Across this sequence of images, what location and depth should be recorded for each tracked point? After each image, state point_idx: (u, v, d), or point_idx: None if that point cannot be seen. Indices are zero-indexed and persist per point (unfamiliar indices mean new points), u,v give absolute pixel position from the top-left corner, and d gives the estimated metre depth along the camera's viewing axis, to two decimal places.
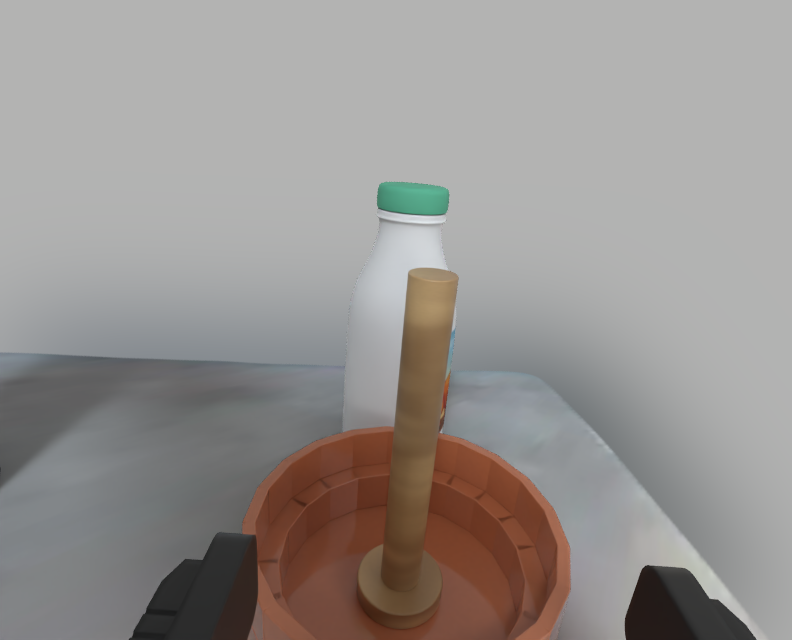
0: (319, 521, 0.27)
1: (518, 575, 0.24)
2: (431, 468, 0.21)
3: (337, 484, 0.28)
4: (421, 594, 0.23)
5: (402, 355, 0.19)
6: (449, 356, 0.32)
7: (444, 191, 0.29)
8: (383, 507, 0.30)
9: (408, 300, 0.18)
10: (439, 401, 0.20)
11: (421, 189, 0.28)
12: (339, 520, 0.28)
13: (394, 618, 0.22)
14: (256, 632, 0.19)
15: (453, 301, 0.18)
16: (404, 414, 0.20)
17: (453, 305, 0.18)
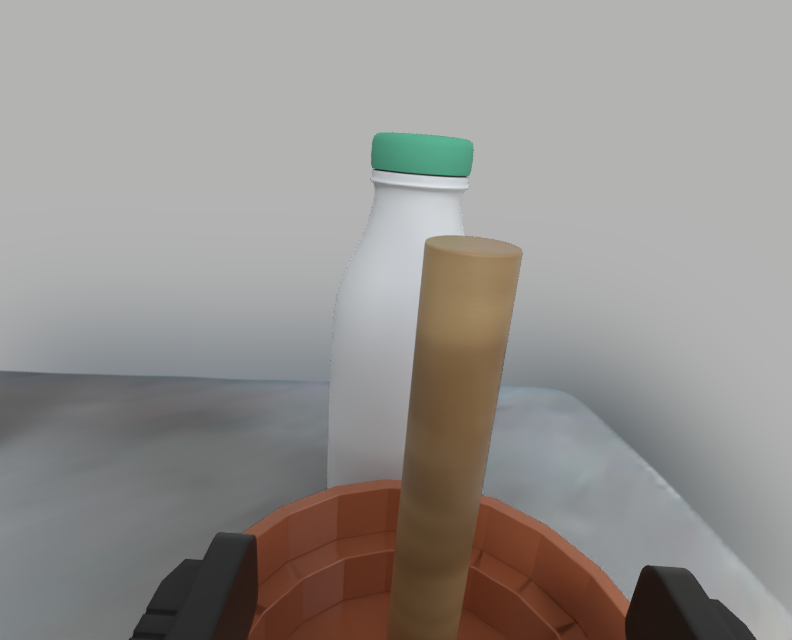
0: (286, 627, 0.19)
1: None
2: (463, 588, 0.12)
3: (312, 571, 0.19)
4: None
5: (413, 398, 0.10)
6: None
7: (467, 142, 0.20)
8: (381, 595, 0.21)
9: (425, 295, 0.10)
10: (480, 479, 0.11)
11: (435, 137, 0.19)
12: (317, 620, 0.20)
13: None
14: None
15: (513, 297, 0.09)
16: (416, 504, 0.11)
17: (512, 305, 0.10)
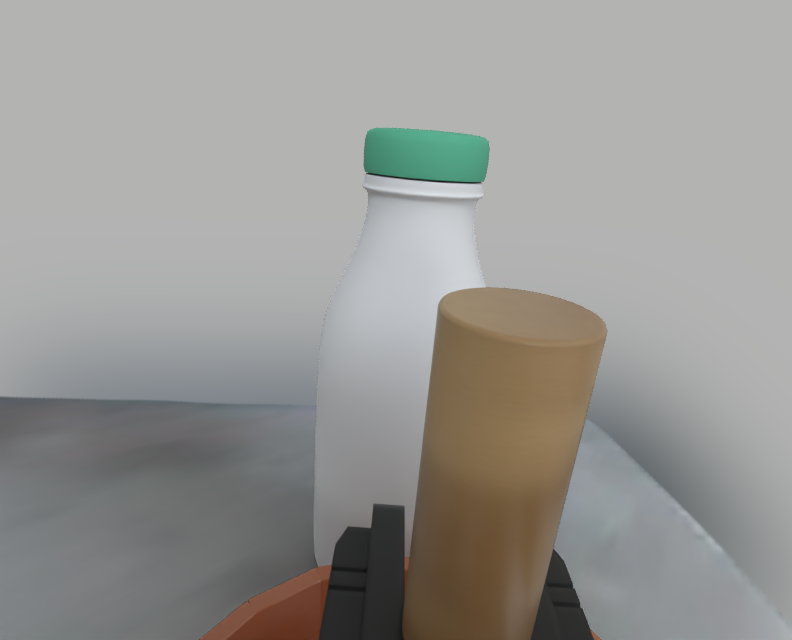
0: None
1: None
2: None
3: None
4: None
5: (418, 547, 0.07)
6: None
7: (483, 140, 0.16)
8: None
9: (439, 398, 0.06)
10: None
11: (443, 133, 0.15)
12: None
13: None
14: None
15: (589, 402, 0.06)
16: None
17: (586, 413, 0.06)
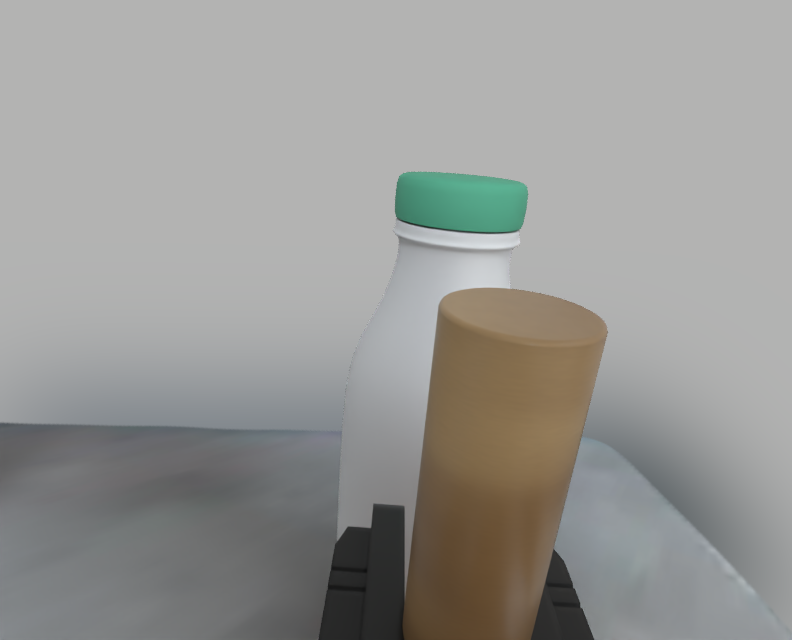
0: None
1: None
2: None
3: None
4: None
5: (418, 547, 0.07)
6: None
7: (523, 187, 0.15)
8: None
9: (440, 398, 0.06)
10: None
11: (483, 183, 0.14)
12: None
13: None
14: None
15: (589, 402, 0.06)
16: None
17: None
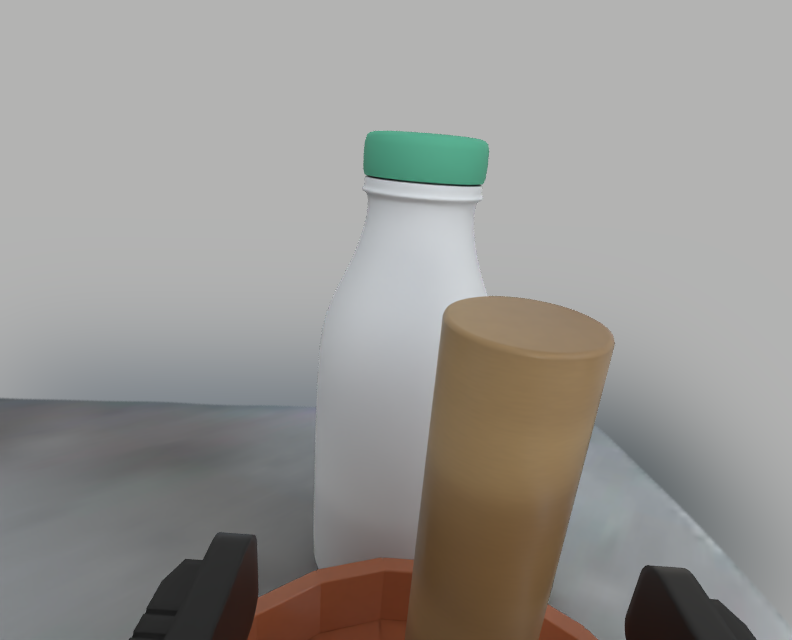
0: None
1: None
2: None
3: None
4: None
5: (422, 559, 0.06)
6: None
7: (482, 143, 0.16)
8: None
9: (445, 409, 0.06)
10: None
11: (442, 136, 0.15)
12: None
13: None
14: None
15: None
16: None
17: (593, 425, 0.06)
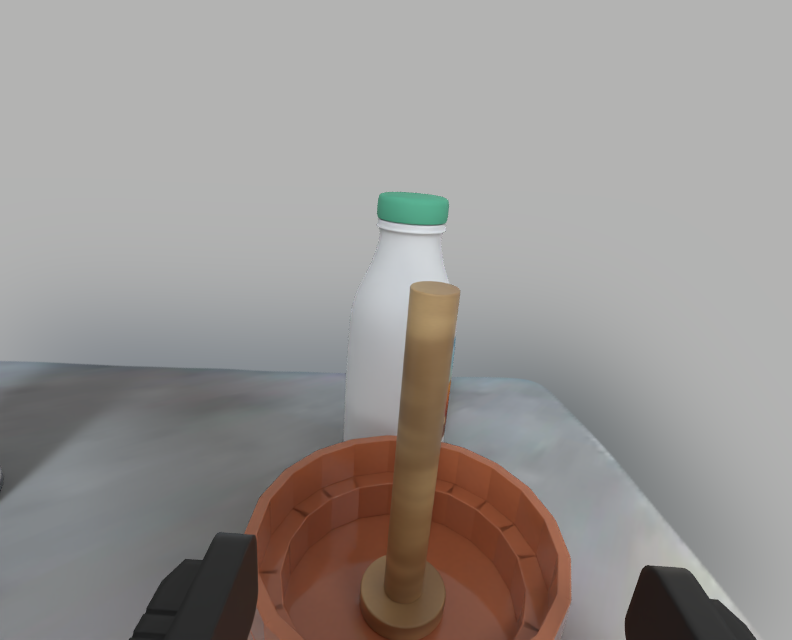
0: (320, 531, 0.28)
1: (520, 585, 0.24)
2: (434, 480, 0.21)
3: (338, 494, 0.28)
4: (424, 606, 0.23)
5: (404, 368, 0.19)
6: None
7: (444, 201, 0.29)
8: (384, 516, 0.30)
9: (410, 314, 0.18)
10: (441, 414, 0.20)
11: (421, 199, 0.28)
12: (341, 529, 0.29)
13: (397, 631, 0.22)
14: None
15: (455, 315, 0.18)
16: (407, 428, 0.20)
17: (455, 319, 0.19)
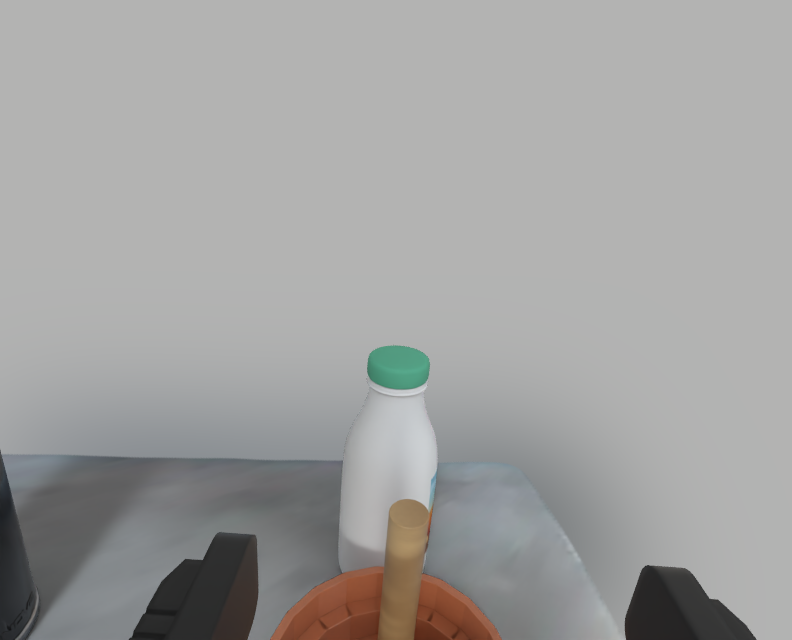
0: None
1: None
2: None
3: (332, 625, 0.32)
4: None
5: (385, 570, 0.24)
6: (431, 495, 0.37)
7: (425, 366, 0.33)
8: (373, 637, 0.34)
9: (389, 535, 0.23)
10: (415, 604, 0.24)
11: (404, 369, 0.33)
12: None
13: None
14: None
15: (425, 536, 0.23)
16: (387, 614, 0.24)
17: (425, 538, 0.23)
